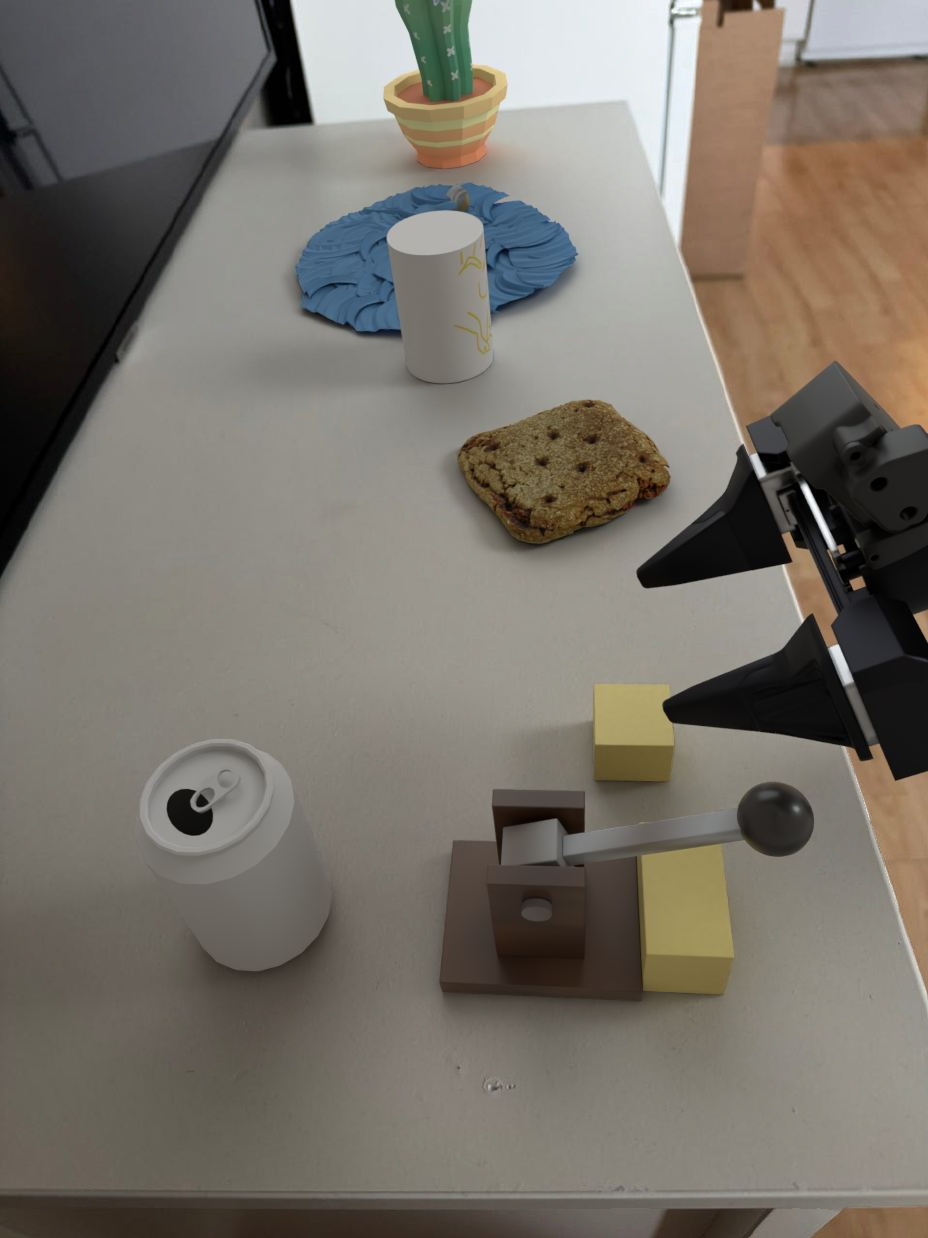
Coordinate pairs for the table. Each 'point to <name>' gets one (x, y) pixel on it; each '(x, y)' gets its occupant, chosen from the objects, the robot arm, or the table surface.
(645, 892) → the butter
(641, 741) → the butter pat
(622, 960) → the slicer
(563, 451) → the pastry
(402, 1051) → the table surface
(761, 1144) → the table surface
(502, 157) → the table surface
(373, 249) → the decorative plate
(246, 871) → the can
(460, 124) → the potted cactus
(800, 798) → the blade
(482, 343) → the cup
